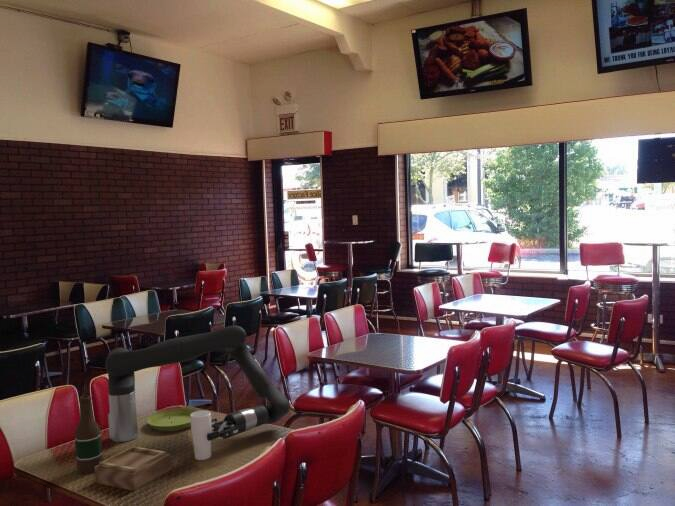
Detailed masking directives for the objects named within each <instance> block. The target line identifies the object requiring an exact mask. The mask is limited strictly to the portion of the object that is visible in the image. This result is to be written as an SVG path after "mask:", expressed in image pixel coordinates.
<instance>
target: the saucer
mask: <svg viewBox="0 0 675 506" xmlns="http://www.w3.org/2000/svg"><path fill="white" fill-rule="evenodd" d="M196 411H198V410H197V409H193V408H174V409H173V408H172V409H166V410H163V411H159V412H158V411H157V412H156V413H154V414H152V415H150V416H149V417H148V418H147V419H146V422H147V425H149V427H151V429H154V430H155V431H159V432H177V430H178V431H182V430H186V429H188V427H189V428H191V421H190V415H191V414H192V413H193V412H196ZM169 417H170V419H169ZM171 422H172V423H171ZM185 428H186V429H185Z"/></svg>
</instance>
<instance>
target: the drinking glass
mask: <svg viewBox="0 0 675 506" xmlns="http://www.w3.org/2000/svg"><path fill="white" fill-rule="evenodd" d="M211 420H212V412H211V411H210V410H197V411H196V412H193V413H192V414H191V415H190V421H191V427H190V430H191V437H192V443H193V450H194V458H195V460H197V461H207V460H208V459H211V457H212V440H210V441H208V440H207V434H209V433H211V431H212V429H213V427H212V421H211Z"/></svg>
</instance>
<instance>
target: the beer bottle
mask: <svg viewBox="0 0 675 506" xmlns="http://www.w3.org/2000/svg"><path fill="white" fill-rule="evenodd" d="M78 401H79V422H78V424H77V426H76V428H75V431H74V443H75V458H76V468H77V471H78V473H80V474H82V473H83V474H92V473H95V469H94V467H95V466H97V465H99V463H100V462H102V461H104V460H103V448H102V446H103V445H102V433H101V428H100V425H99V424H98V423H97V421H95V419H94V414H93V408H92V406H93V405H92V396H91V395H82V396H80V397H79V399H78Z"/></svg>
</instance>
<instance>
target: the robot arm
mask: <svg viewBox="0 0 675 506" xmlns="http://www.w3.org/2000/svg"><path fill="white" fill-rule="evenodd" d="M219 350H225V351H226V352H227V353H228V354H229V355H230V356H231V357H232V358H233V360H234V361H235V362H236V363H237V365H238V366H239V367H240V369H241V371H242V372H243V373H244V376H245V377H246V379H247V381H248V382H249V384H250V386H251V387H252V389H253V391H254V392H255V394H256V396H257V397H258V399H260V400H265V399H266V400H267V401H268V402H269V403H268V404H267V405H263V404H262V405H260V404H258V405H256V406H251V407H249V408H244V409H240V410H236V411H234V412H230V413H227V414H226V415H225V417H224V419H223V420H222V419H218V418H213V419H212V418H211V421H212V431H211V433H209V434H207V440H208V441H210V440H211V441H212V440H216V439H222V440H226V439H228V438H232V437H234V436H236V435H239V434H242V433H246V432H249V431H250V430H252V429H254V428H256V427H260V426H263V425H271V424H275V423H277V422H279V421H281V420H282V419H283V418H284V417H285V416H286V415H288V413H289V412H290V410H291V405H290V401H289V399H288V398H287V397H286V396H285V395H284V394H283V393H282V391H280V390H279V389H278V388H277V387H276V386H275V385H274V384H273V381H271V379H270V377H269V376H268V374H267V372H266V371H265V370H264V369H263V368H262V366H261V365H260V364H259V362H257V360H255V358H254V357H253V355H252V353H251V351H250V349H249V346H248V345H247V333H246V330H245V329H244V328H243V327H242V326H239V325H229V326H226V327H222V328H219V329H216V330H213V331H209V332H205V333H197V334H192V335H186V336H180V337H175V338H174V337H173V338H170V339H166V340H163V341H161V342H158V343H156V344H153V345H150V346H148V347H144V348H141V349H136V350H129V348H127V347H117V348H114V349H112V350H111V351H110V352H109V353H108V355H107V358H106V360H105V362H104V363H105V365H104V367H105V370H106V371H107V377H108V378H107V379H108V381H107V382H108V383H107V391H108V392H107V393H108V404H109V413H107V418H108V419H107V420H108V430H109V431H108V432H109V433H108V434H109V439H110V440H111V441H112V442H116V443H123V442H124V443H125V442H129V441H132V440H135V439H137V437H138V436H139V432H138V431H139V429H138V427H139V426H138V416H137V415H138V414H137V413H138V411H137V400H136V398H137V397H136V386H135V385H136V382H135V381H136V379H135V377H136V375H135V372H138V371H142V370H145V369H149V368H157V367H163V366H168V365H175V364H179V363H184V362H187V361H192V360H194V359H196V358H198V357H200V356H203V355H205V354H207V353H209V352H213V351H219Z"/></svg>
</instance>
